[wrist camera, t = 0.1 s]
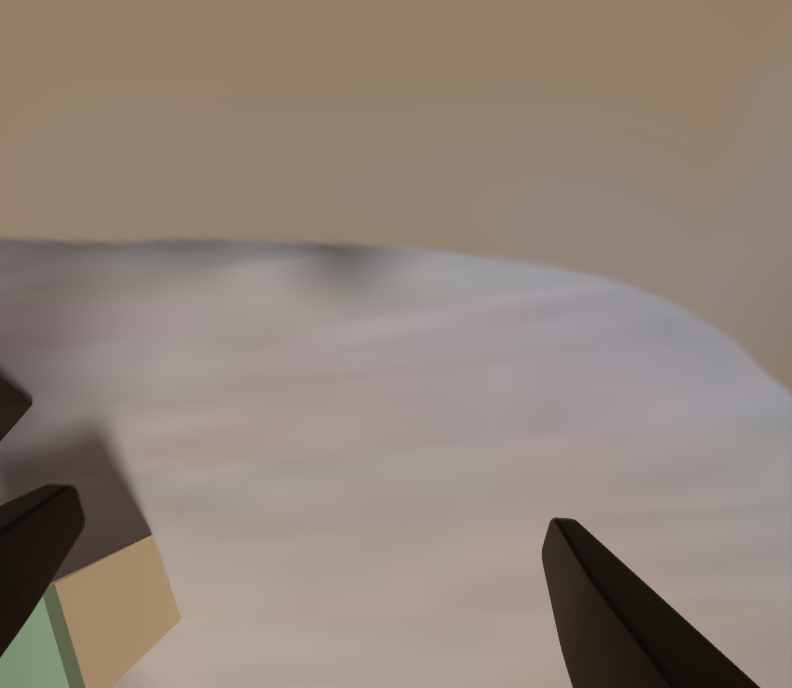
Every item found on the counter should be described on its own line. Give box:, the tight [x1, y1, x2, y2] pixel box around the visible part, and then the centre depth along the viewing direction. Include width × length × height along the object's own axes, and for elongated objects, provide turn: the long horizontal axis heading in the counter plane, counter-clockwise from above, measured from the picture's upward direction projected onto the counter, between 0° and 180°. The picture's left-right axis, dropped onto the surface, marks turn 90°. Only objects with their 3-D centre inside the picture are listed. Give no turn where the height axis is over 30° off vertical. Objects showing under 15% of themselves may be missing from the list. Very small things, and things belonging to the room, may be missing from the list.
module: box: [0, 535, 181, 688], centre depth 17 cm, size 4×6×7 cm
